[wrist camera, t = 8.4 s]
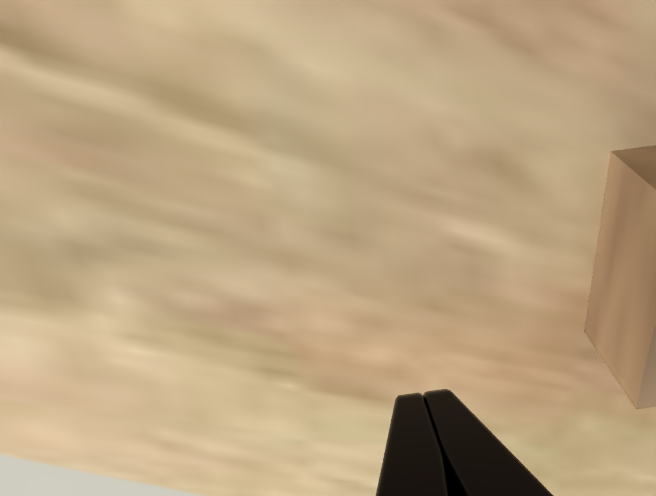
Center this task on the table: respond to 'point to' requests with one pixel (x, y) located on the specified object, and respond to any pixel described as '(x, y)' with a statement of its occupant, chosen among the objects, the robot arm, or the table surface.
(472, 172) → the table surface
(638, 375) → the walnut block
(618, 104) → the table surface
